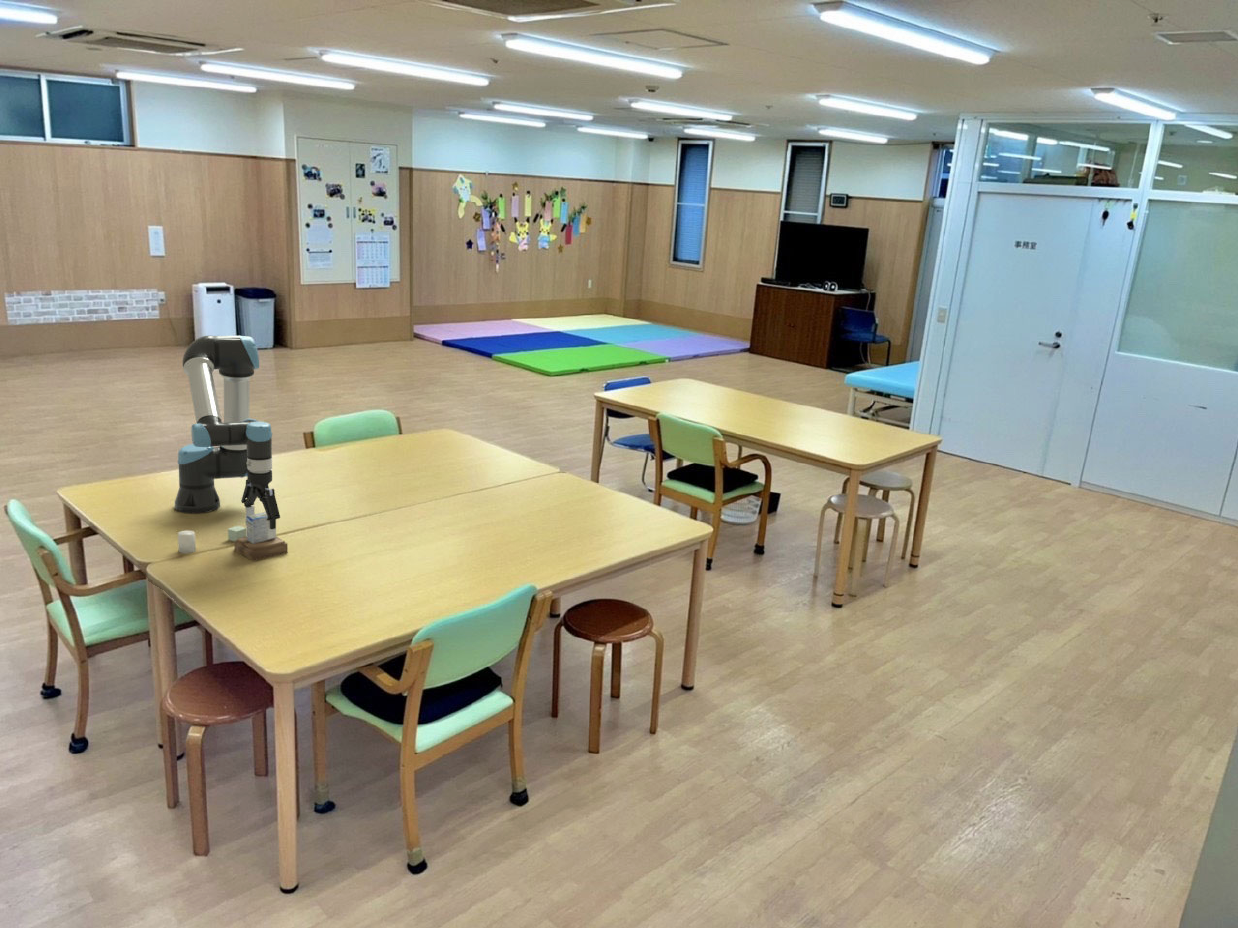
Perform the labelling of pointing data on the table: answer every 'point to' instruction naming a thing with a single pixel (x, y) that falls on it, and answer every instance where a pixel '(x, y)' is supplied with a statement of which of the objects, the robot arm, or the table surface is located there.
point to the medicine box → (257, 528)
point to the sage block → (236, 533)
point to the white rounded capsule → (186, 541)
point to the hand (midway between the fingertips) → (260, 531)
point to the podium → (260, 548)
